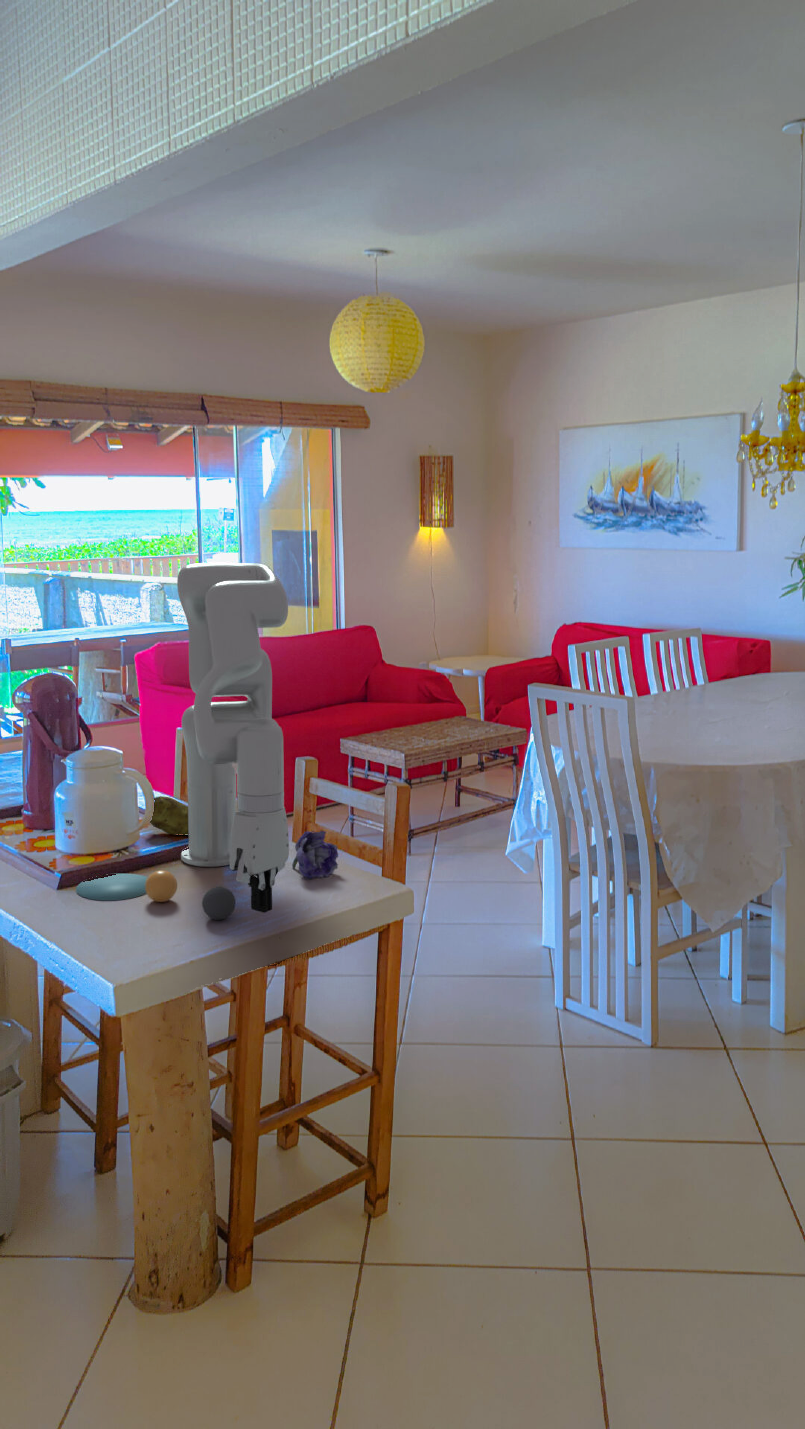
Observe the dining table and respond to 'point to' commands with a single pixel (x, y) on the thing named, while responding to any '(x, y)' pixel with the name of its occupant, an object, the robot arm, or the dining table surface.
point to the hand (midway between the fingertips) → (261, 909)
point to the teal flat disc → (113, 887)
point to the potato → (170, 815)
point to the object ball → (161, 886)
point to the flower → (315, 855)
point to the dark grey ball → (218, 903)
